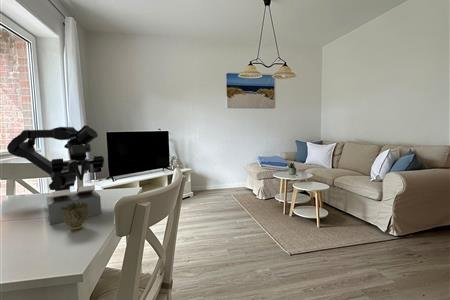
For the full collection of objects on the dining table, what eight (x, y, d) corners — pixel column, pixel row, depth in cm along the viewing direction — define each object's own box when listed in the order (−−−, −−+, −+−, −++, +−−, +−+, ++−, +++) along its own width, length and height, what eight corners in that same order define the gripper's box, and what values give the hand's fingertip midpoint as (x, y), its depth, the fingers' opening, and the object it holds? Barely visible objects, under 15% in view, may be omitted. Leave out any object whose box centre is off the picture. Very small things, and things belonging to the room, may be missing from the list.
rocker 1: (51, 197, 90) (51, 191, 91) (67, 194, 94) (67, 189, 94) (53, 198, 84) (52, 192, 84) (70, 195, 87) (69, 189, 87)
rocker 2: (77, 194, 95) (76, 189, 96) (91, 192, 98) (91, 187, 99) (79, 192, 89) (79, 187, 89) (95, 190, 92) (94, 184, 93)
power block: (47, 215, 93) (46, 196, 93) (94, 206, 103) (93, 189, 102) (49, 224, 84) (48, 203, 83) (101, 213, 93) (100, 195, 93)
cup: (77, 235, 75) (75, 209, 74) (56, 233, 76) (54, 208, 75) (95, 225, 82) (93, 202, 81) (76, 224, 83) (74, 201, 83)
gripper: (49, 138, 96) (52, 170, 88) (101, 137, 107) (109, 165, 99) (50, 157, 103) (53, 188, 95) (99, 153, 114) (106, 181, 106)
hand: (81, 179), depth 99 cm, fingers closed
